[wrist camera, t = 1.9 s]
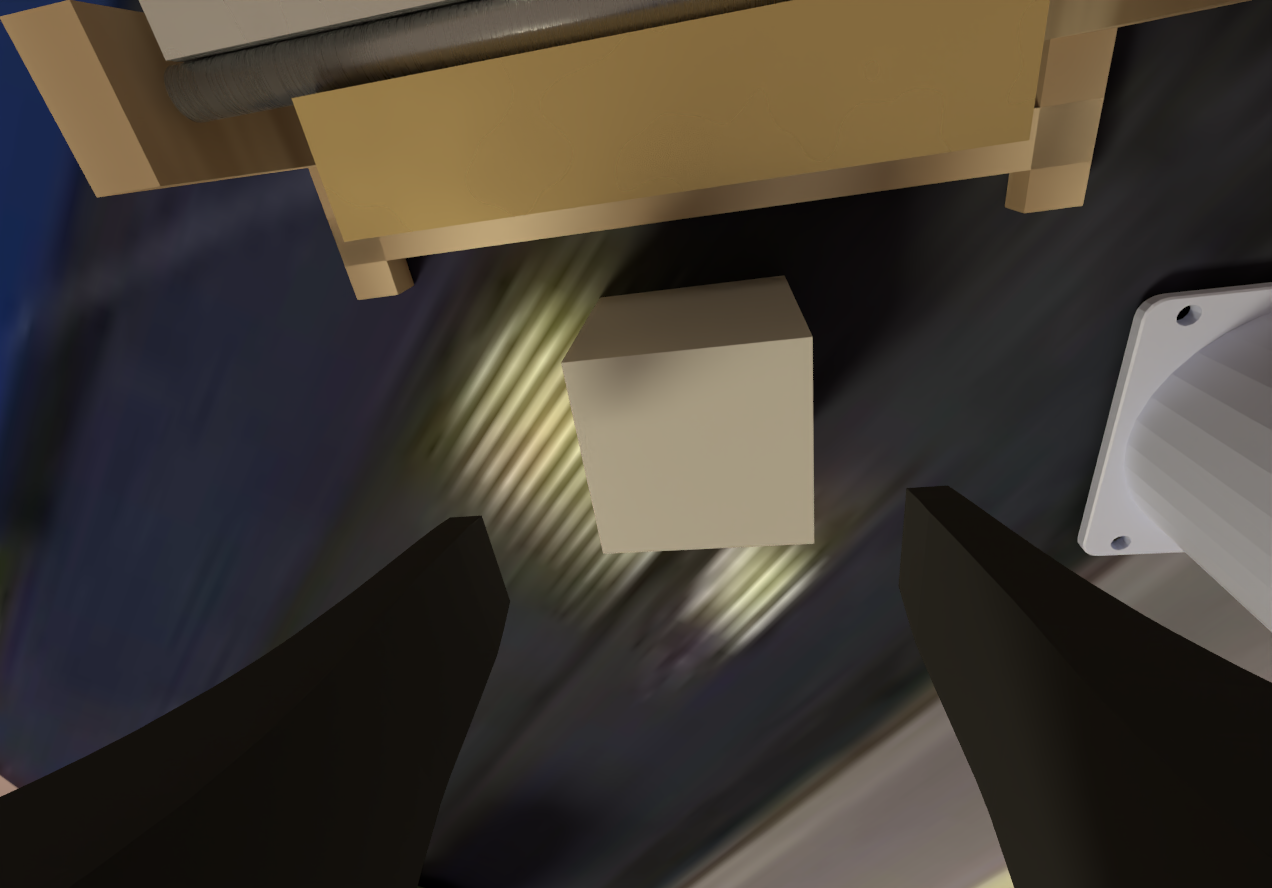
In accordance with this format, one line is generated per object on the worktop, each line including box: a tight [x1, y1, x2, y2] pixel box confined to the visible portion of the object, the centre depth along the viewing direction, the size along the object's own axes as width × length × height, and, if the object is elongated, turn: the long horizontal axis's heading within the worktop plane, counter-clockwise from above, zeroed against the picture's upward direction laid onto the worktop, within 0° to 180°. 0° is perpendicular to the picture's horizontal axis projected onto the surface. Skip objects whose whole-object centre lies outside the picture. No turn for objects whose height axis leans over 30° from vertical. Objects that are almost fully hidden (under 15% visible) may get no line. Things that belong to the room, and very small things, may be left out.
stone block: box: [561, 275, 814, 554], centre depth 15 cm, size 5×5×5 cm
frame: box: [0, 0, 1250, 300], centre depth 11 cm, size 18×6×7 cm, turn 98°
